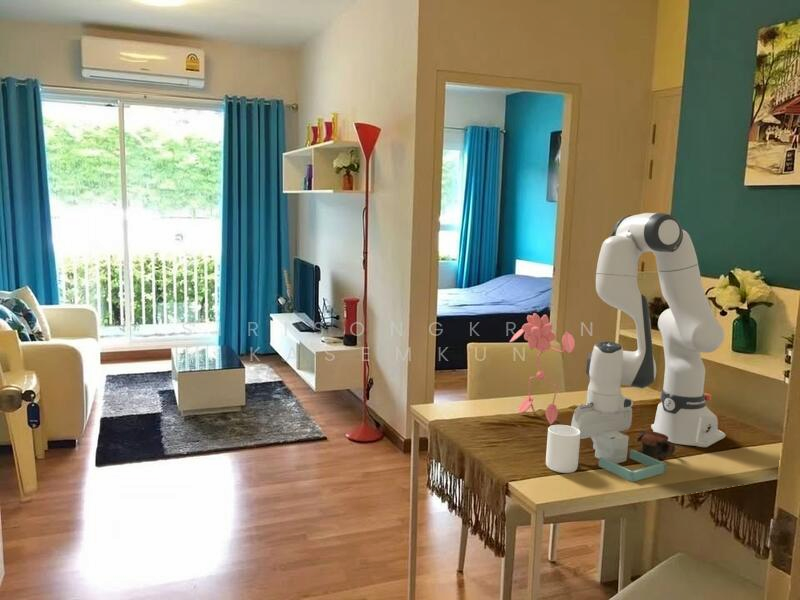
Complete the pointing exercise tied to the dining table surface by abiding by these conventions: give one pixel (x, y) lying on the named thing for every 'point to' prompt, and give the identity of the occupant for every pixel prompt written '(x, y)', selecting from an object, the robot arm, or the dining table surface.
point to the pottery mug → (655, 445)
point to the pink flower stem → (540, 339)
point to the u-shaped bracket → (652, 470)
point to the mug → (562, 448)
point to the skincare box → (612, 446)
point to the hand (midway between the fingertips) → (599, 448)
